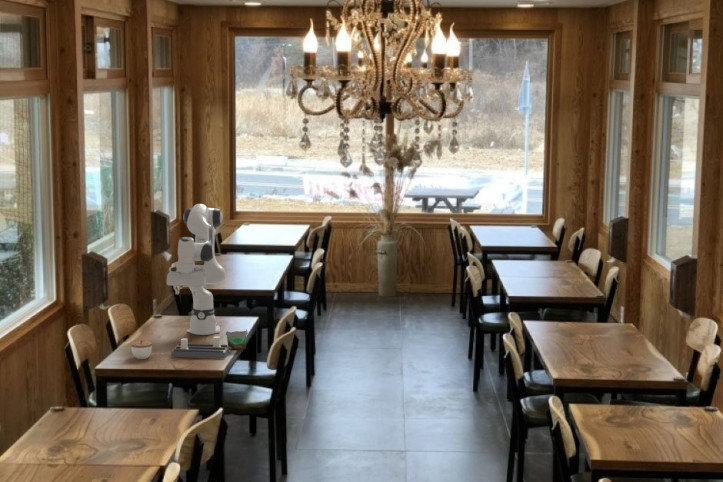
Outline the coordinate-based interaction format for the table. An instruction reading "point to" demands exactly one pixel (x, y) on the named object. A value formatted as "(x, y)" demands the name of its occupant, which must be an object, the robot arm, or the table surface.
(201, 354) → the switch board
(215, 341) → the tab
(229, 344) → the food container
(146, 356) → the lidded jar
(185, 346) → the tab
